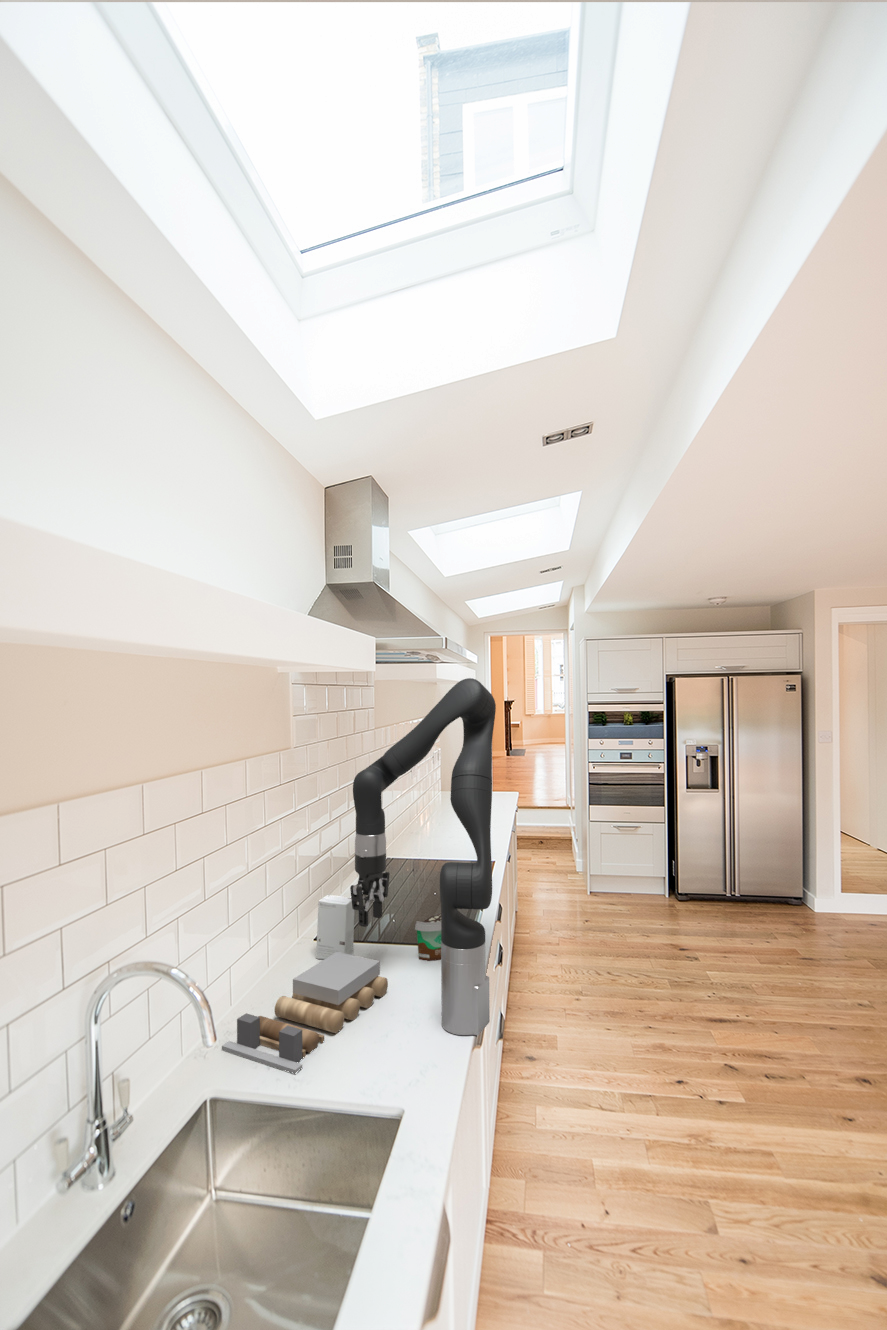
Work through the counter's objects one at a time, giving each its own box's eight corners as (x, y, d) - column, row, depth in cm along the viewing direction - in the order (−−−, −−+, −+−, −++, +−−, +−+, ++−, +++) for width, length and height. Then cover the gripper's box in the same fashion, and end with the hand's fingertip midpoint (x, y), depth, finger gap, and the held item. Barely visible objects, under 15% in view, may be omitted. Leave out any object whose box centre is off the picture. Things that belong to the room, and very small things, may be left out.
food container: (434, 967, 166) (434, 927, 166) (415, 961, 170) (415, 921, 170) (463, 951, 176) (462, 912, 176) (444, 945, 179) (444, 908, 180)
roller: (252, 1039, 134) (250, 1023, 134) (264, 1027, 137) (262, 1011, 137) (308, 1057, 128) (306, 1040, 127) (319, 1044, 131) (317, 1027, 131)
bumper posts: (310, 1061, 125) (310, 1032, 125) (295, 1074, 121) (295, 1044, 121) (238, 1038, 133) (238, 1010, 134) (221, 1050, 129) (221, 1021, 130)
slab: (379, 974, 153) (379, 961, 153) (338, 1005, 138) (338, 990, 138) (336, 964, 158) (336, 951, 158) (292, 993, 144) (292, 979, 144)
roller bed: (387, 992, 153) (387, 974, 153) (305, 1059, 126) (305, 1037, 126) (334, 979, 160) (334, 962, 160) (245, 1040, 133) (245, 1019, 133)
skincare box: (315, 959, 171) (315, 900, 171) (326, 950, 177) (326, 893, 177) (346, 963, 169) (345, 903, 169) (355, 953, 175) (355, 896, 175)
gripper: (373, 842, 169) (373, 910, 169) (340, 856, 156) (340, 929, 156) (399, 846, 165) (399, 914, 165) (367, 860, 153) (367, 934, 152)
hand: (370, 921), depth 160 cm, fingers open, 5 cm apart
